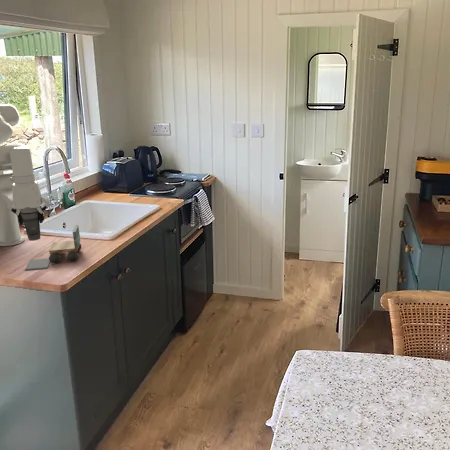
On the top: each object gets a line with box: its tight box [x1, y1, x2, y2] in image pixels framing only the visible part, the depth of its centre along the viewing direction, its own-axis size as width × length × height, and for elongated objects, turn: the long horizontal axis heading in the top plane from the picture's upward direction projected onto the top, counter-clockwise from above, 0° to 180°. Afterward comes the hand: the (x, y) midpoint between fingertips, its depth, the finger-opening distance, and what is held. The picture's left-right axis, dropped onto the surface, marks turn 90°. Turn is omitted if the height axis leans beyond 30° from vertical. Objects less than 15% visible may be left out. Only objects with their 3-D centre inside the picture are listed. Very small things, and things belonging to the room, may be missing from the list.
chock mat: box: [24, 257, 51, 271], centre depth 203 cm, size 9×10×1 cm
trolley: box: [48, 224, 82, 265], centre depth 208 cm, size 12×13×12 cm
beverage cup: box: [20, 207, 41, 242], centre depth 197 cm, size 7×7×20 cm
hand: (31, 222), depth 198 cm, fingers closed on beverage cup, 6 cm apart
